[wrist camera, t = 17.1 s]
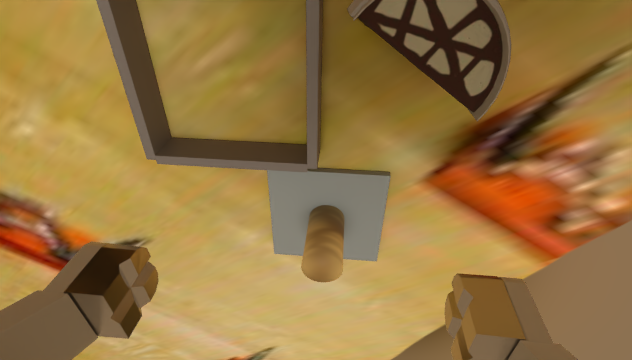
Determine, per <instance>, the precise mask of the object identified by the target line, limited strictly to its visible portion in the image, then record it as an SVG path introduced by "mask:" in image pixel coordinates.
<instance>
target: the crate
mask: <svg viewBox="0 0 632 360" xmlns="http://www.w3.org/2000/svg"><path fill="white" fill-rule="evenodd" d="M96 1H97V4H98V7H99V10H100V13H101V16H102V19H103V23H104V26H105V29H106V32H107V35H108V38H109V41H110V45H111V48H112V51H113V54H114V57H115V60H116V63H117V67H118V70H119V73H120V76H121V79H122V82H123V85H124V88H125V92H126V95H127V98H128V101H129V104H130V107H131V110H132V114H133V117H134V120H135V123H136V126H137V129H138V132H139V136H140V139H141V142H142V145H143V148H144V151H145V154H146V158H147V159H151V160H156V161H157V164H169V165H186V166H203V167H221V168H238V169H255V170H272V171H290V172H307V171H308V169H317V166H318V160H319V153H320V131H321V76H322V22H323V0H306V51H307V145H303V144H284V143H265V142H246V141H227V140H208V139H189V138H171V134H170V130H169V126H168V123H167V119H166V115H165V111H164V107H163V103H162V100H161V96H160V92H159V88H158V84H157V80H156V77H155V73H154V69H153V65H152V61H151V57H150V53H149V50H148V46H147V42H146V38H145V34H144V30H143V27H142V23H141V19H140V15H139V11H138V7H137V3H136V0H96Z"/></svg>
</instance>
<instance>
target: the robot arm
mask: <svg viewBox="0 0 632 360" xmlns="http://www.w3.org/2000/svg"><path fill="white" fill-rule="evenodd" d="M150 257H151V256H150V254H149V252H148V250H147V248H144V247H137V246H128V245H119V244H110V243H100V242H90V243H88V244H86V245H84V246H83V247H82V248H81V249H80V250H79V252H78V253H77V254H76V255H75V256H74V257H73V258H72V259H71V260H70V261H69V263H68V264H67V265H66V266H65V267H64V268H63V269H62V270H61V271H60V273H59V274H58V275H57V276H56V277H55V278H54V279H53V280H52V281H51V283H50V284H49V285H48V286H47V287H46V288H45V289H44V290H43V291H36V292H34V293H32V294H30V295H28V296H26V297H25V298H23V299H21V300H19V301H17V302H15V303H14V304H12V305H10V306H8V307H6V308H4V309H3V310H1V311H0V360H72V359H73V358H74V357H75V356H77V355H78V354H79V353H80V352H81V351H83V350H84V349H85V348H86V347H88V346H89V345H90V344H91V343H92V342H94V341H95V340H96V339H97V338H98V337H97V336H104V337H116V338H127V339H129V337H130V335H131V334H132V332H133V330H134V328H135V327H136V325H137V323H138V322H139V320H140V318H141V317H142V312H141V307H143V306H144V305H145V304H147V303H148V302H150V301H151V299H152V297H153V296H154V294H155V292H156V288H157V284H158V272H157V270H156V267H155V266H153V265H152V264H151V263H150V262H148V260H149V258H150ZM452 286H453V291H452V292H450V293H449V294H448V295H447V299H446V302H445V322H446V327H447V332H448V333H449V334H450V335H451V336H452V337H453V338H454V342H453V344H452V347H451V352H452V357H453V360H578V359H577V358H575V357H574V356H573V355H572V354H571V353H570V352H569V351H567V350H566V349H565V348H564V347H563V346H562V345H561V344H555V343H553V341H552V339H551V337H550V335H549V333H548V330H547V328H546V326H545V324H544V322H543V320H542V318H541V315H540V313H539V311H538V309H537V307H536V304H535V302H534V300H533V298H532V296H531V294H530V291H529V289H528V287H527V285H526V283H525V282H524V281H523V280H522V279H517V278H505V277H497V276H484V275H470V274H456V275H455V276H454V278H453V281H452Z"/></svg>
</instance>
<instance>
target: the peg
mask: <svg viewBox="0 0 632 360" xmlns="http://www.w3.org/2000/svg"><path fill="white" fill-rule="evenodd" d="M343 248H344V215H343V213H342V212H341V211H340V210H339V209H338V208H336V207H334V206H330V205H321V206H318V207H316V208H314V209H313V210H312V211H311V213H310V216H309V222H308V228H307V234H306V241H305V247H304V253H303V259H302V266H301V268H302V271H303V273H304V274H305V275H306V276H307V277H308V278H310V279H311V280H314V281H317V282H330V281H334V280H336V279H337V278H339V277H340V276H341V274H342V271H343Z"/></svg>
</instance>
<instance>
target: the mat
mask: <svg viewBox="0 0 632 360" xmlns="http://www.w3.org/2000/svg"><path fill="white" fill-rule="evenodd" d="M267 173H268V185H269V196H270V208H271V219H272V231H273V243H274V254H285V255H299V256H303V253H304V247H305V241H306V234H307V228H308V222H309V216H310V213H311V211H312V210H313V209H314V208H316V207H318V206H321V205H330V206H334V207H336V208H338V209H339V210H340V211H341V212H342V213H343V215H344V248H343V259H352V260H366V261H377V256H378V250H379V244H380V238H381V231H382V225H383V219H384V213H385V207H386V200H387V194H388V188H389V182H390V172H379V171H361V170H344V169H326V168H317V169H308V171H307V172H290V171H272V170H267Z"/></svg>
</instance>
